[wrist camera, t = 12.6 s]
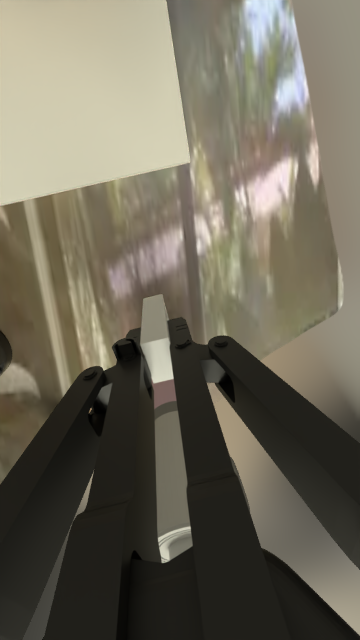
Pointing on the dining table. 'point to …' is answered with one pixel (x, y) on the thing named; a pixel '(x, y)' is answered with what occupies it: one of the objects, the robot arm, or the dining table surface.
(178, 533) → the blender
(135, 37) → the gate frame
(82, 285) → the dining table surface
